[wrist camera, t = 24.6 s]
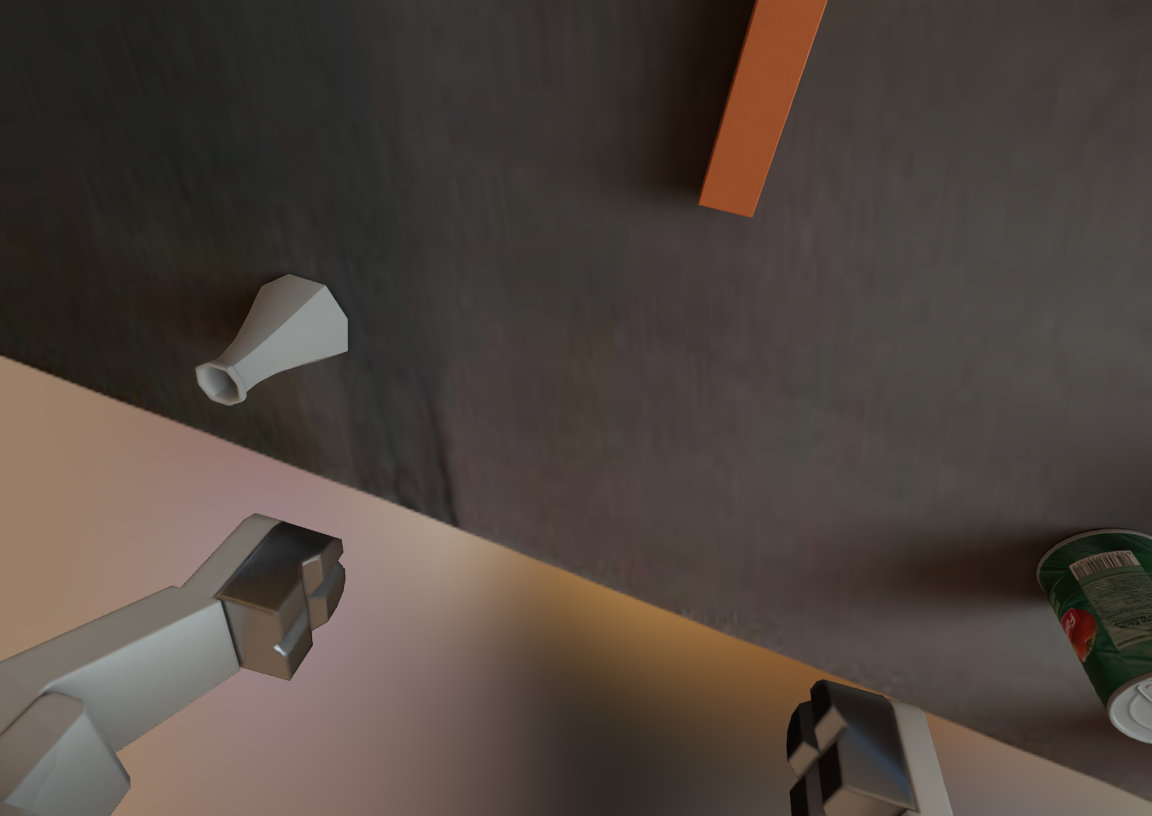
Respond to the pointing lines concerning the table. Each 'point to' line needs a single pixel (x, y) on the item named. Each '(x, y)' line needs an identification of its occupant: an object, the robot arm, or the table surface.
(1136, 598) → the canned tomato
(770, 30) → the rod
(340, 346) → the flask
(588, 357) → the table surface
